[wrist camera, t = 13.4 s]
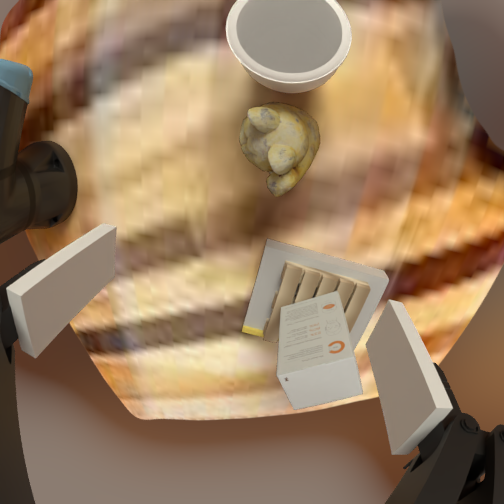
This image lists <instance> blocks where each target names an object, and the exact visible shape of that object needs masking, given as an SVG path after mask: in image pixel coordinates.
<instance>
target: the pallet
mask: <svg viewBox="0 0 504 504" xmlns="http://www.w3.org/2000/svg"><path fill="white" fill-rule="evenodd" d="M281 279H282V282H281V285H280V288H279V291H276V292H275V295H274V298H273V301H272V307H271V308H273V310H272V313H271V316H270V319H269V318H267V320H266V323H265V326H264V329H263V335H264V337H263V340H265V341H269V342H274V343H277V341H278V338H279V325H280V312H281V307H283V306H287V305H290V304H294V303H297V302H301V301H304V300H307V299H311V298H312V297H313V295H314V292H315V289H316V288H317V290H316V292H315V295H314V297H318V296H321V295H324V294H328V293H331V292H334V291H338V293H339V295H340V299H341V302H342V306H343V310H344V313H345V317H346V321H347V325H348V329H349V333H350V332H351V330H352V328H353V326H354V324H355V322H356V320H357V318H358V316H359V314H360V312H361V310H362V308H363V306H364V303H365V301H366V299H367V297H368V295H369V293H370V290H371V289H370V286H369V284H368V282H365V281H361V280H357V279H353V278H350V277H346V276H342V275H338V274H335V273H331V272H327V271H323V270H320V269H316V268H312V267H308V266H305V265H301V264H297V263H293V262H290V261H286V260H285V263H284V267H283V270H282V273H281ZM298 283H300V285H299V288H298V291H297V293H296V296H294V294H295V291H296V289H297V286H298ZM349 297H350V298H349ZM345 306H346V307H345Z"/></svg>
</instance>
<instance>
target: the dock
mask: <svg viewBox="0 0 504 504" xmlns="http://www.w3.org/2000/svg"><path fill="white" fill-rule="evenodd" d="M285 260H286V261H290V262H293V263H297V264H301V265H305V266H308V267H312V268H316V269H320V270H323V271H327V272H331V273H335V274H338V275H342V276H346V277H350V278H353V279H357V280H361V281H365V282H368V284H369V286H370V289H371V290H370V293H369V295H368V297H367V299H366V301H365V303H364V306H363V308H362V310H361V312H360V314H359V316H358V318H357V320H356V322H355V324H354V326H353V328H352V330H351V332H350V337H351V341H352V345H353V349H354V350H355V348H356V346H357V344H358V342H359V340H360V338H361V337H362V335H363V333H364V331H365V329H366V327H367V325H368V323H369V321H370V319H371V317H372V315H373V313H374V311H375V309H376V307H377V305H378V303H379V301H380V299H381V297H382V295H383V292H384V290H385V288H386V286H387V284H388V282H389V279H388V277H387V275H386V273H385V272H384V271H383V270H380V269H376V268H373V267H369V266H366V265H362V264H359V263H355V262H351V261H348V260H344V259H341V258H337V257H334V256H330V255H326V254H323V253H319V252H315V251H312V250H308V249H304V248H301V247H297V246H293V245H290V244H286V243H282V242H279V241H275V240H271V239H267V242H266V245H265V249H264V252H263V256H262V260H261V263H260V267H259V270H258V274H257V278H256V281H255V285H254V288H253V292H252V296H251V299H250V303H249V306H248V310H247V313H246V317H245V321H244V325H243V329H242V332H245V333H248V334H252V335H256V336H260V337H264V335H263V329H264V326H265V323H266V320H267V318H269V319H270V316H271V313H272V310H273V308H271V307H272V301H273V298H274V295H275V292H276V291H279V288H280V285H281V282H282V279H281V273H282V270H283V267H284V263H285ZM299 285H300V283H298V286H297V289H296V291H295V294H294V296H296V293H297V291H298V288H299ZM316 290H317V288H316V289H315V292H316ZM315 292H314V295H315ZM314 295H313V297H312V298H314ZM349 298H350V297H349ZM345 307H346V306H345ZM278 341H279V338H278Z"/></svg>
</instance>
